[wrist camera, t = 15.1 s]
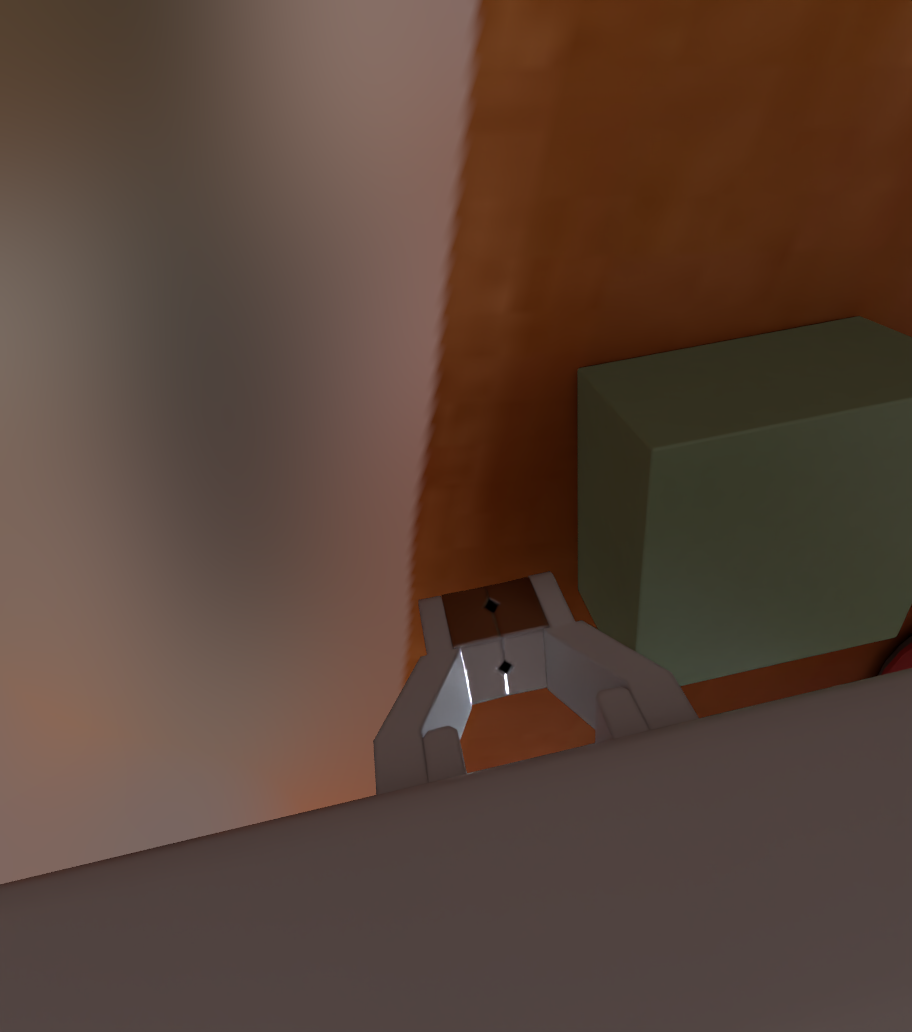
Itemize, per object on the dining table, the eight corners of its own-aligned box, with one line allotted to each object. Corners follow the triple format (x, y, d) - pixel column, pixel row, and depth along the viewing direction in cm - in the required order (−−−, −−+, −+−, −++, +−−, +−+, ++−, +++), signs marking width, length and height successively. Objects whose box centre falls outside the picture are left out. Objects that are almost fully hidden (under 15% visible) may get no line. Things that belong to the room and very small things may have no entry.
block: (797, 543, 18) (897, 637, 15) (577, 589, 18) (631, 697, 15) (859, 314, 14) (1015, 377, 11) (576, 367, 14) (652, 450, 10)
